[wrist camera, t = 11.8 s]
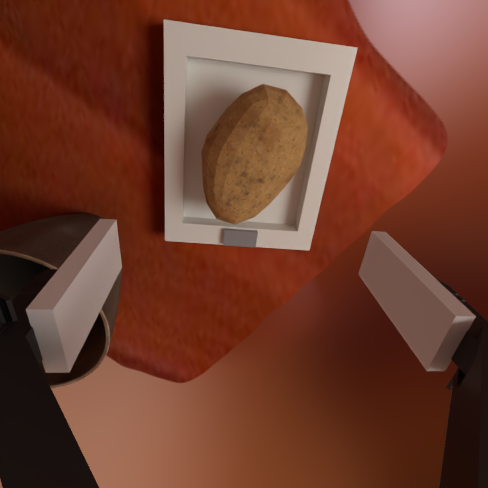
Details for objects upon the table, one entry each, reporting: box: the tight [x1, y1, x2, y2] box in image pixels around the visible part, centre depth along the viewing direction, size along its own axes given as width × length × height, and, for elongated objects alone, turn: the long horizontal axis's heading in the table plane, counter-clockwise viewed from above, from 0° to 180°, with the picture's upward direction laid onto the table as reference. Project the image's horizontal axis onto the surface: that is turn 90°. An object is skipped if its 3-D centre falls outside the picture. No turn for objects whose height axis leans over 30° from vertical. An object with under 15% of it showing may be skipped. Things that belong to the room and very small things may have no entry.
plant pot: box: [0, 213, 121, 388], centre depth 32 cm, size 15×15×16 cm
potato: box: [201, 84, 308, 225], centre depth 32 cm, size 10×14×8 cm
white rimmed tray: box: [164, 20, 357, 250], centre depth 34 cm, size 22×18×3 cm
